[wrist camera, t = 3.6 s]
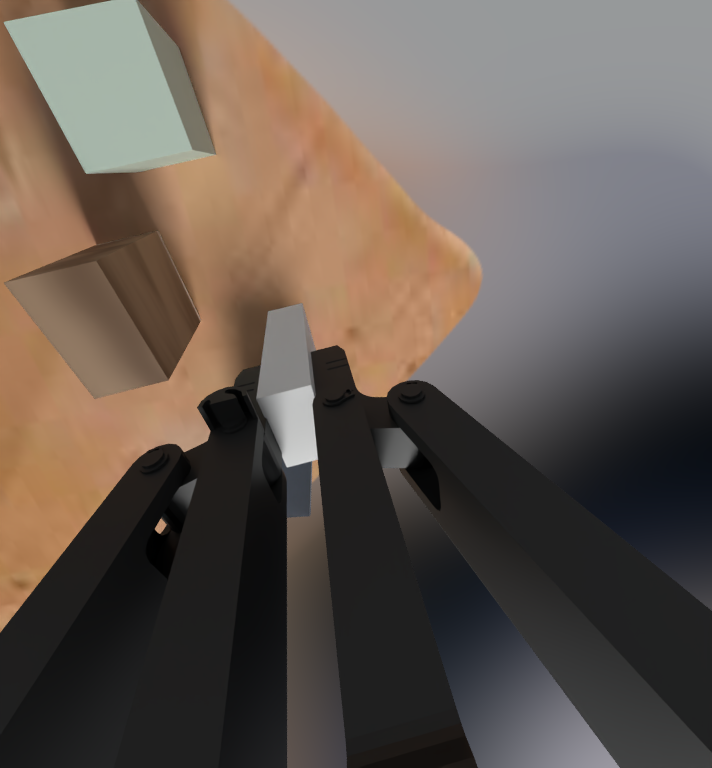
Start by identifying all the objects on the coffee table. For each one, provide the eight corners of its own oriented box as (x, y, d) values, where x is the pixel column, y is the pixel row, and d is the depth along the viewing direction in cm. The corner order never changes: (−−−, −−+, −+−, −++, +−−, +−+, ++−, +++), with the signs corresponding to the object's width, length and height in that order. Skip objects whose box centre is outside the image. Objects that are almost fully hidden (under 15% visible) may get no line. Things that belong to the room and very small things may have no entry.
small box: (246, 375, 36) (235, 441, 27) (308, 374, 37) (315, 437, 29) (254, 449, 42) (246, 524, 33) (307, 446, 43) (313, 517, 34)
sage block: (137, 172, 25) (86, 173, 19) (87, 66, 22) (3, 21, 15) (216, 154, 26) (192, 149, 19) (178, 47, 22) (133, -4, 16)
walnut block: (149, 332, 32) (94, 398, 23) (97, 244, 27) (3, 282, 18) (201, 319, 32) (168, 380, 23) (158, 230, 28) (95, 260, 18)
